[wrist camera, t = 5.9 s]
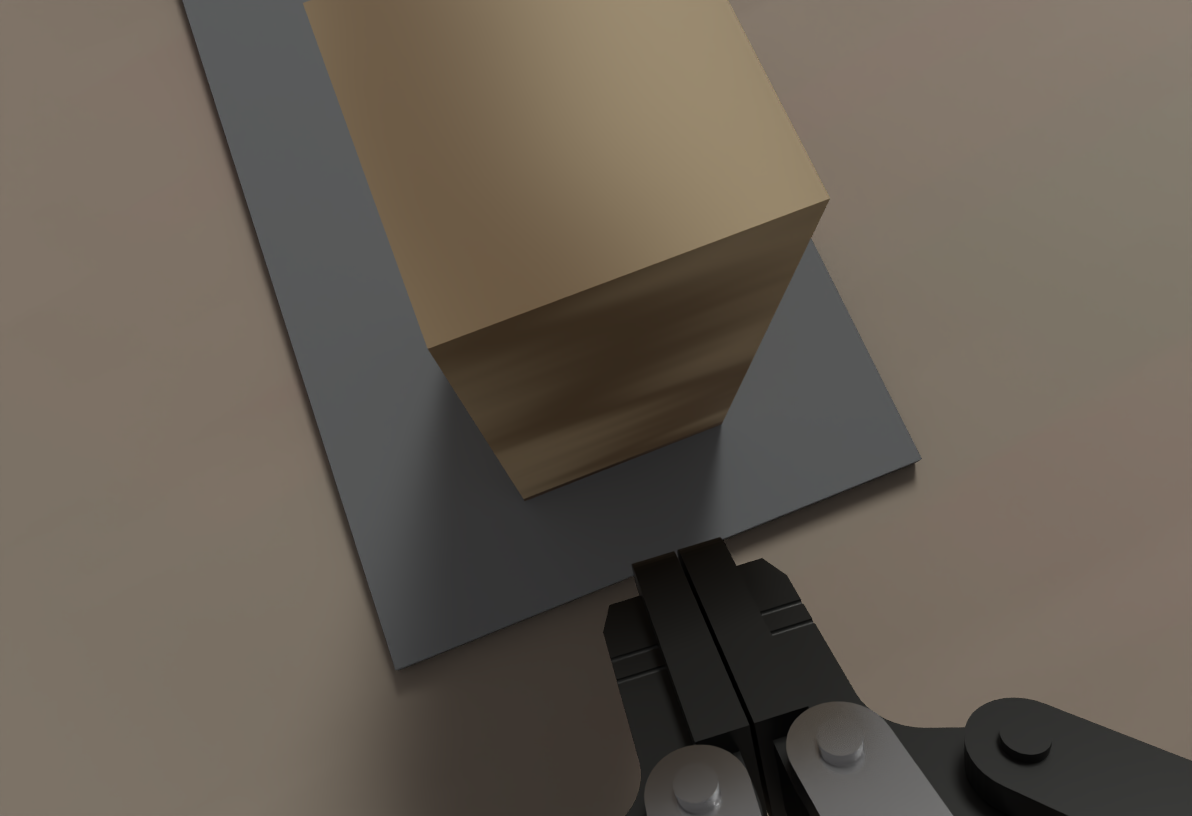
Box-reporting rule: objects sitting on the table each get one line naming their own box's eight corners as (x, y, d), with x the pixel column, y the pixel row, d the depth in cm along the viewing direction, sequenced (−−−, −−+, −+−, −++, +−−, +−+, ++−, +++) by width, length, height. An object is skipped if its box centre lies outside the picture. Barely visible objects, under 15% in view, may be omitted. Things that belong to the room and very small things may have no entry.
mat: (582, -206, 27) (582, -219, 26) (915, 462, 21) (921, 458, 21) (164, -69, 26) (157, -80, 25) (399, 669, 20) (395, 670, 20)
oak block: (642, 245, 22) (665, -121, 12) (721, 423, 21) (830, 198, 10) (455, 314, 22) (302, 3, 11) (524, 501, 21) (428, 348, 10)
